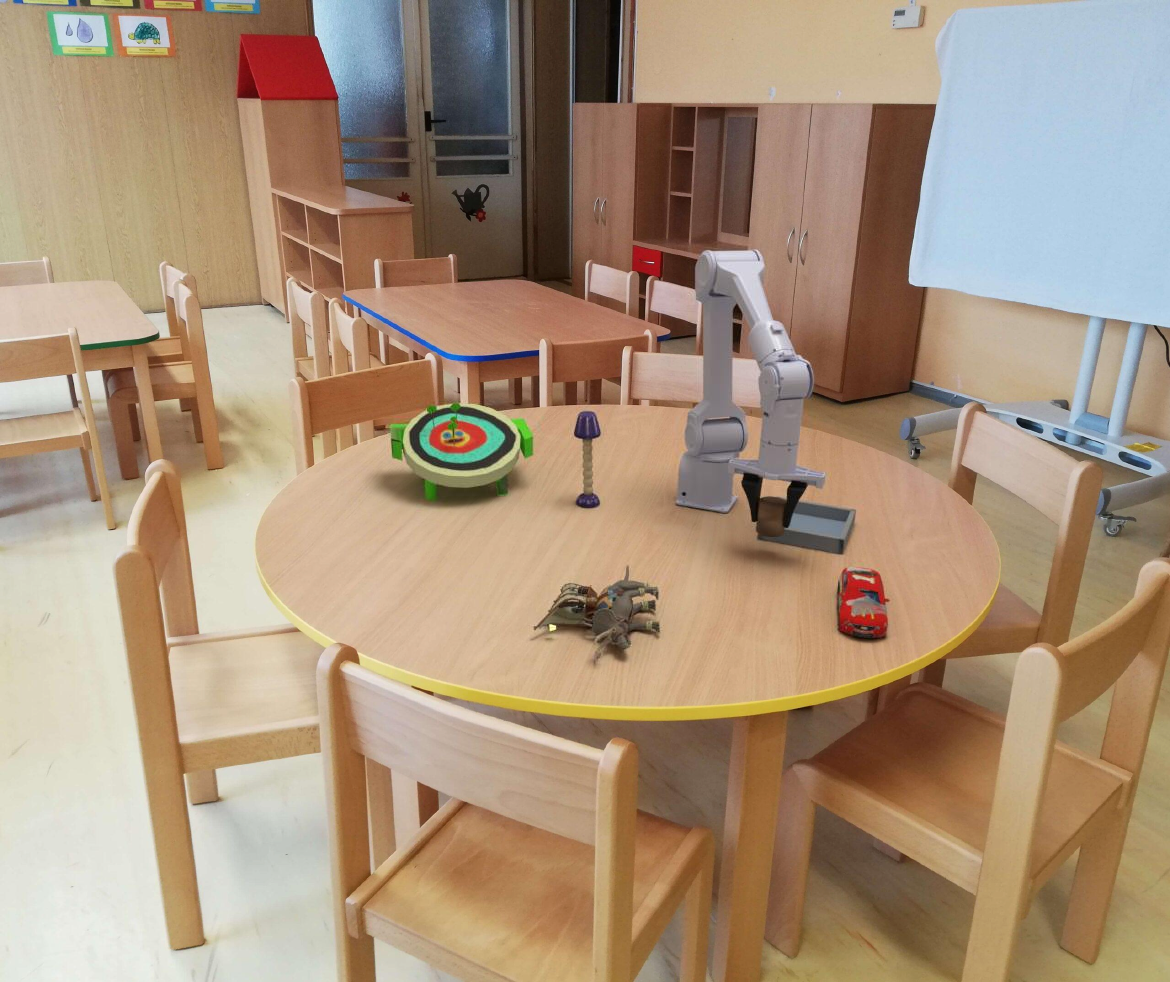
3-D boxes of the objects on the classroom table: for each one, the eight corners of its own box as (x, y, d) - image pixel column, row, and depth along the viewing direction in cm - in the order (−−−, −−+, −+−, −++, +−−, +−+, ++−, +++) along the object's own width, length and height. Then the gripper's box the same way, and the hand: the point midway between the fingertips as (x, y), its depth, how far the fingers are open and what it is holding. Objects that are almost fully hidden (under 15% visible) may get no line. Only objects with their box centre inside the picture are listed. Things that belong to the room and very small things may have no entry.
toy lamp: (575, 509, 163) (577, 417, 157) (570, 499, 167) (572, 409, 161) (602, 507, 164) (605, 416, 158) (596, 497, 168) (599, 408, 162)
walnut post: (752, 534, 145) (755, 504, 143) (759, 523, 149) (762, 494, 147) (781, 539, 144) (784, 509, 142) (786, 528, 147) (790, 499, 146)
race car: (887, 647, 123) (892, 614, 121) (834, 639, 124) (839, 607, 123) (883, 591, 138) (888, 561, 136) (836, 585, 139) (840, 555, 137)
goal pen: (757, 538, 153) (759, 524, 152) (775, 509, 165) (776, 496, 164) (842, 554, 148) (844, 539, 148) (854, 523, 160) (856, 509, 159)
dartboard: (395, 512, 160) (390, 422, 154) (392, 474, 177) (388, 392, 171) (539, 503, 165) (540, 416, 160) (523, 467, 182) (523, 387, 176)
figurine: (669, 631, 115) (531, 633, 114) (667, 672, 117) (532, 674, 117) (652, 552, 133) (533, 553, 132) (650, 588, 135) (534, 590, 135)
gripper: (725, 440, 140) (718, 523, 145) (823, 455, 135) (813, 540, 140) (737, 427, 146) (730, 507, 151) (831, 441, 141) (821, 523, 146)
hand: (770, 522), depth 146 cm, fingers closed on walnut post, 4 cm apart
